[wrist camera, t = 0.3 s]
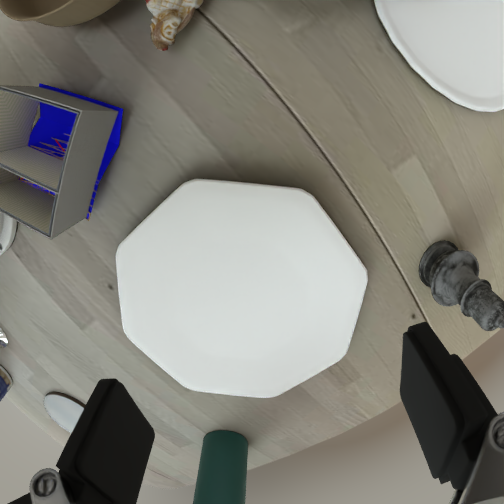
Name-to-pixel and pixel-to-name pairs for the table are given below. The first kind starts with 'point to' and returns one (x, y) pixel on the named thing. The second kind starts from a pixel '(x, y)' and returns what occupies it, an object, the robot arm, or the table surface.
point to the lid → (63, 409)
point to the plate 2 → (452, 46)
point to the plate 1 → (239, 287)
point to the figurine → (169, 19)
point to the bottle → (222, 469)
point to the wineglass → (3, 339)
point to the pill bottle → (4, 382)
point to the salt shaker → (461, 284)
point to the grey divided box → (53, 155)
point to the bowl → (55, 10)
